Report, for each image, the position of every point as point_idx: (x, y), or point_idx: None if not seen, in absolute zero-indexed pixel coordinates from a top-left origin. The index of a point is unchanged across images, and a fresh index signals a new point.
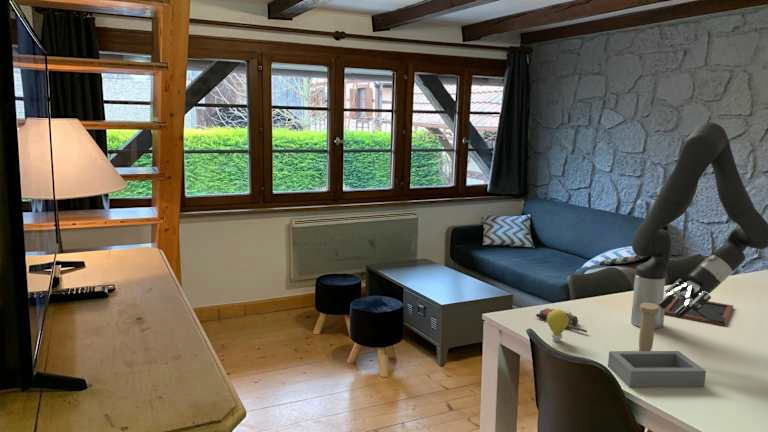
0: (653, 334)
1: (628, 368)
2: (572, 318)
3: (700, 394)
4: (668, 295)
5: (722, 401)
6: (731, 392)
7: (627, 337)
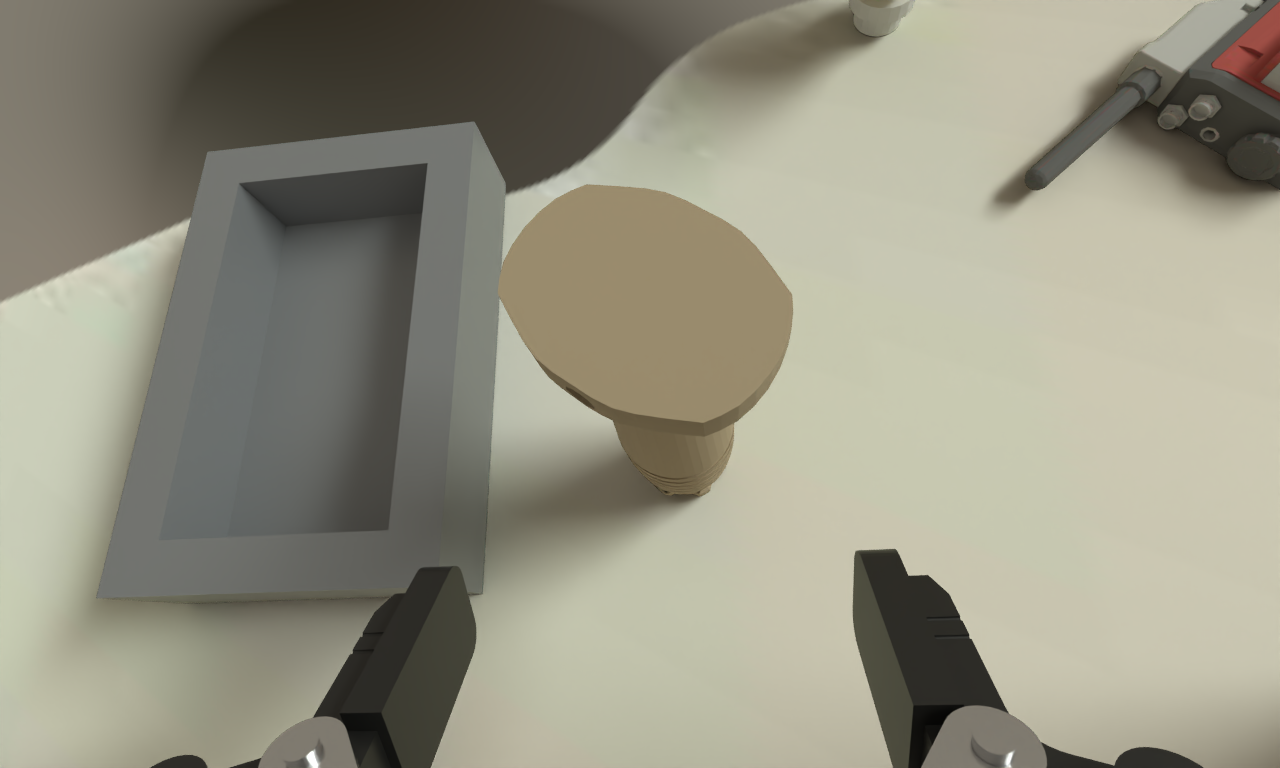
0: (633, 457)
1: (239, 150)
2: (1252, 106)
3: None
4: (944, 724)
5: (30, 606)
6: (93, 744)
7: (1026, 471)
